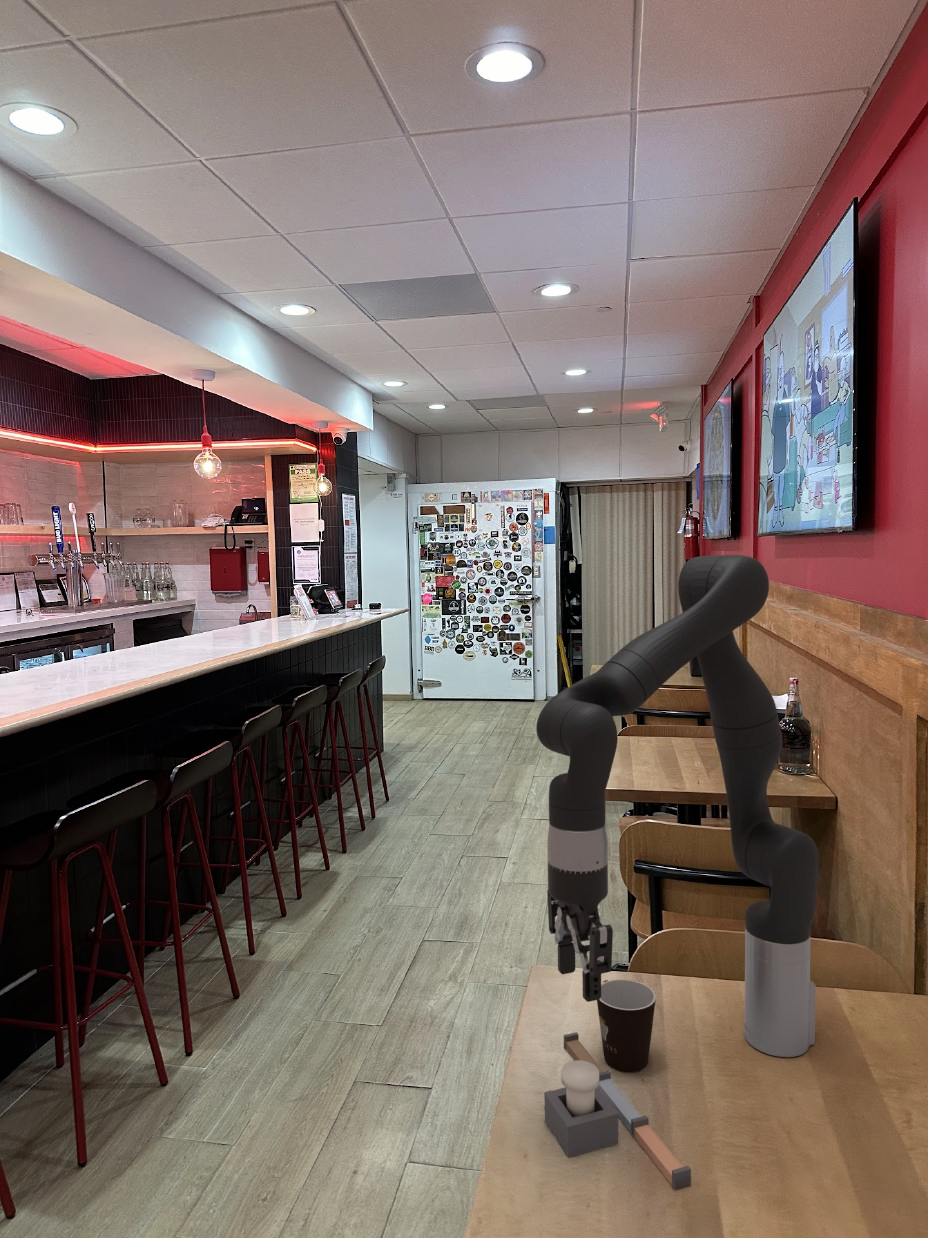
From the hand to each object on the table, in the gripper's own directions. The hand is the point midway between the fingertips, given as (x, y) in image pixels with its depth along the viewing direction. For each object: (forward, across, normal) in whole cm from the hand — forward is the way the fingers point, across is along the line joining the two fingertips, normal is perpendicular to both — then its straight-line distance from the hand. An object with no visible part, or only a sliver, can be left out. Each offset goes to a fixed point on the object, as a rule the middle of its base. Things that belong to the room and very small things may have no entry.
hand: (578, 985), depth 105 cm
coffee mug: (+20, +13, -14) cm, 28 cm away
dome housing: (+20, 0, 0) cm, 20 cm away
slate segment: (+20, +2, -7) cm, 21 cm away
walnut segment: (+20, +12, -7) cm, 24 cm away
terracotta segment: (+20, -8, -7) cm, 22 cm away
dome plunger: (+18, 0, 0) cm, 18 cm away
